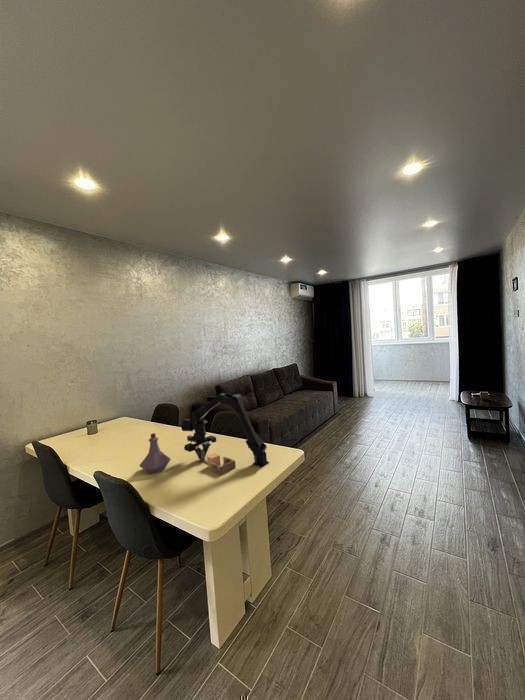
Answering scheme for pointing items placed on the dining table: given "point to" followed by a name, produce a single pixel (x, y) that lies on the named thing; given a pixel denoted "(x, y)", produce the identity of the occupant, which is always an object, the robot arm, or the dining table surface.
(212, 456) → the tethered block
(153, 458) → the flask
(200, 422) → the robot arm
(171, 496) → the dining table surface
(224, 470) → the dark brown open box
